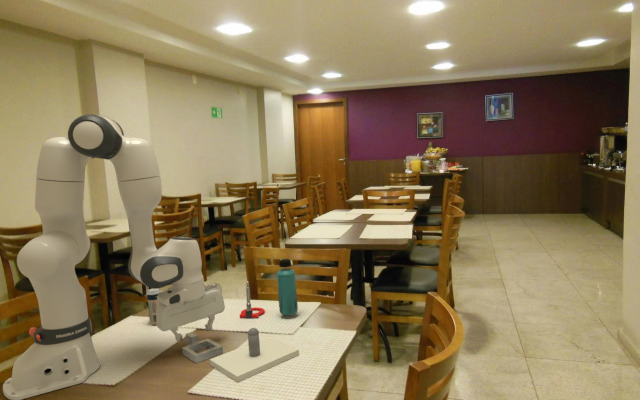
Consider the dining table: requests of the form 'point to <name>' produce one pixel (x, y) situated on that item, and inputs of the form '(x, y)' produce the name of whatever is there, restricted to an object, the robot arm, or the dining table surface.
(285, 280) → the beverage bottle
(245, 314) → the tow hook
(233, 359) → the board
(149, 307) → the beer can
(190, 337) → the steel link
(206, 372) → the dining table surface
